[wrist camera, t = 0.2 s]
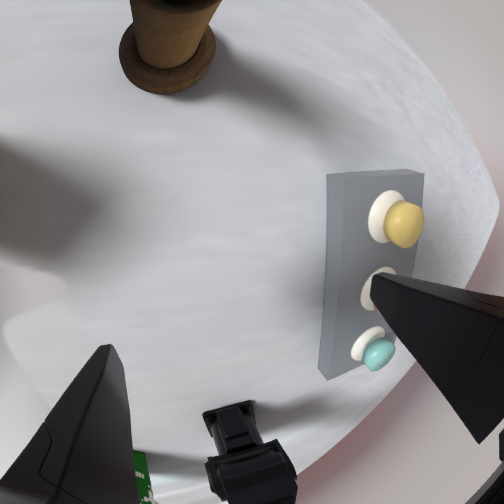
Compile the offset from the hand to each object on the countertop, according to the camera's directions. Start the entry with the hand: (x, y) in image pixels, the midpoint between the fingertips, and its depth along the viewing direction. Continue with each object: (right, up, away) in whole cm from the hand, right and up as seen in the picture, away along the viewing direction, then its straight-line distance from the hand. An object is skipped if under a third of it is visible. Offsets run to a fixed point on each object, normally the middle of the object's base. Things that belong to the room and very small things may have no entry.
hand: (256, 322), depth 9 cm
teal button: (+15, -10, +21) cm, 28 cm away
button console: (+13, -1, +21) cm, 25 cm away
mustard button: (+13, +5, +15) cm, 20 cm away
